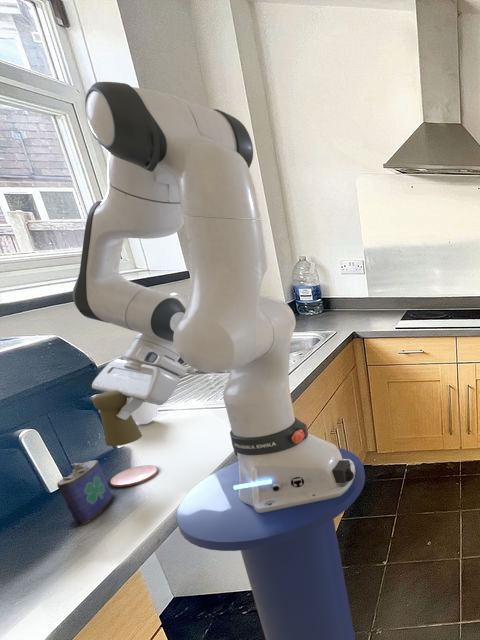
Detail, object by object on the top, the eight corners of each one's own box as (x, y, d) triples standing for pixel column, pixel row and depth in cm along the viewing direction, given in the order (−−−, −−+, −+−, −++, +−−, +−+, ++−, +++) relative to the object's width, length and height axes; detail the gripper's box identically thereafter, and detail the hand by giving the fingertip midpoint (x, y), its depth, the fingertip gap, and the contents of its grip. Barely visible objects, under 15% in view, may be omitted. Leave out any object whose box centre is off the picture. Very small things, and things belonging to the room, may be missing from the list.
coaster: (165, 465, 98) (164, 463, 98) (143, 485, 90) (143, 482, 90) (126, 469, 96) (125, 467, 96) (101, 489, 89) (100, 486, 89)
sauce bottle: (142, 430, 115) (121, 368, 109) (120, 427, 116) (98, 366, 110) (169, 418, 122) (151, 360, 116) (148, 416, 124) (129, 358, 117)
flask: (101, 497, 86) (83, 452, 82) (118, 495, 87) (101, 450, 83) (70, 526, 78) (48, 477, 74) (89, 523, 79) (68, 475, 75)
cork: (132, 444, 89) (115, 397, 85) (98, 447, 87) (80, 399, 83) (148, 431, 94) (133, 386, 90) (116, 434, 93) (99, 389, 89)
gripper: (105, 348, 94) (65, 403, 89) (166, 357, 87) (126, 418, 82) (134, 361, 99) (98, 414, 94) (193, 371, 93) (157, 429, 88)
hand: (112, 416), depth 88 cm, fingers closed on cork, 4 cm apart
